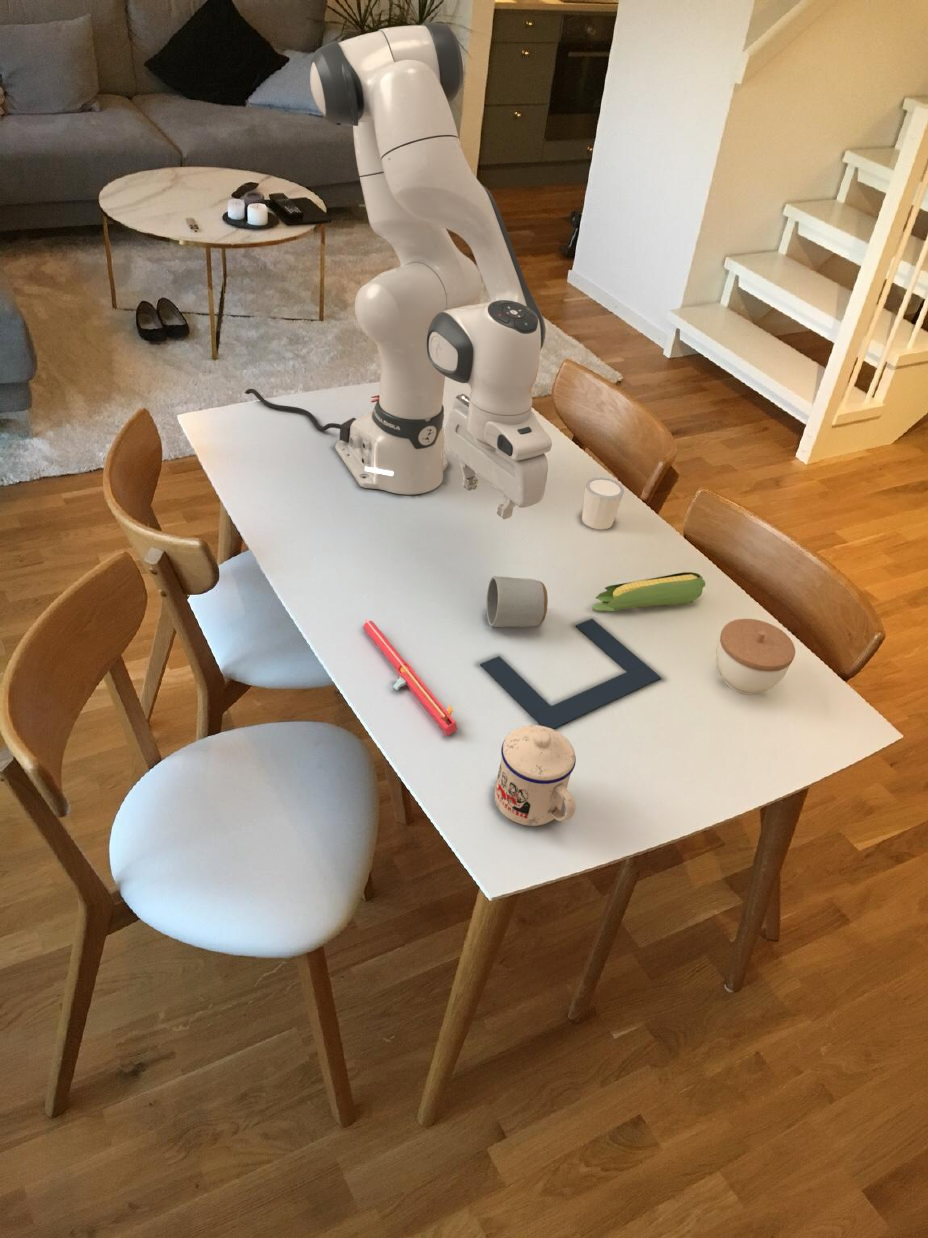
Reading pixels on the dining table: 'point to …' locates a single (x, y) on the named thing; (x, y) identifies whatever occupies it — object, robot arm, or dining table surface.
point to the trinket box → (753, 655)
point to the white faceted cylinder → (601, 502)
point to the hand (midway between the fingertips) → (486, 501)
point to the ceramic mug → (516, 602)
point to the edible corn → (652, 592)
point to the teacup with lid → (535, 776)
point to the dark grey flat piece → (586, 700)
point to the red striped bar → (412, 680)
